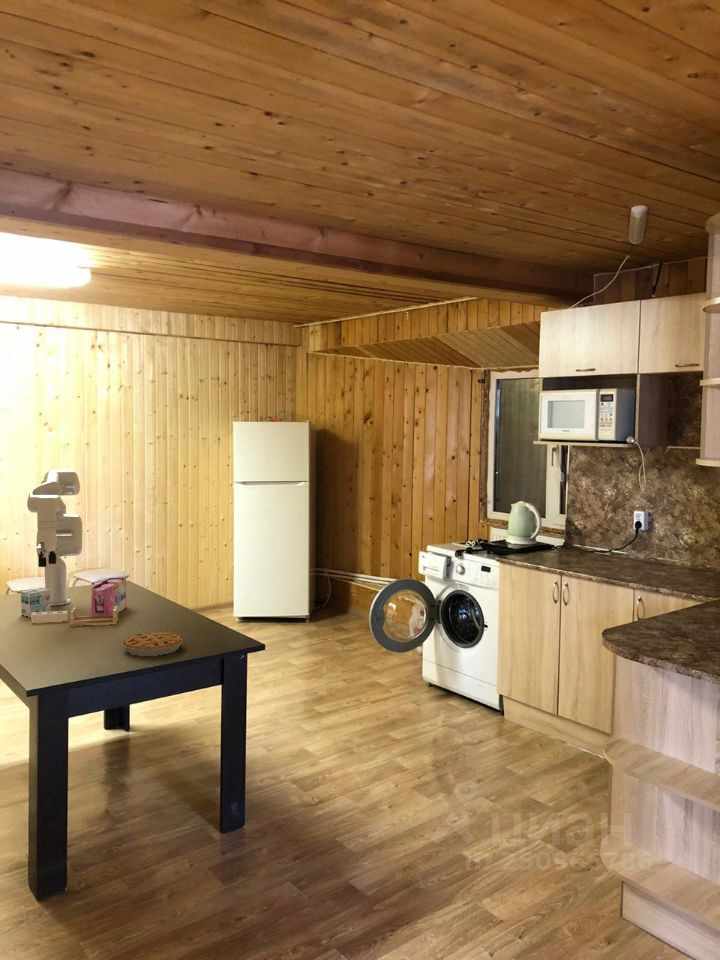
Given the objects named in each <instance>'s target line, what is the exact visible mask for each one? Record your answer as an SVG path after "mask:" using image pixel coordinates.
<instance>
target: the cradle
mask: <svg viewBox="0 0 720 960" xmlns="http://www.w3.org/2000/svg"><path fill="white" fill-rule="evenodd" d="M69 616H70V619H69V620H70V621H69V622H70V625H69V626H70V627H83V626H82V625H93V626H111V625H110V624H116V625H117V623H118V621H119V612H118V606H115V607H114V609H113V615H105V616H91V615H84V616H83V615H82V616H77V607H76V606H75V607H74V606H73V607H72V609H71V610H70V615H69ZM79 625H80V626H79Z"/></svg>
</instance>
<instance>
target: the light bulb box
mask: <svg viewBox="0 0 720 960" xmlns="http://www.w3.org/2000/svg"><path fill="white" fill-rule="evenodd" d="M20 607H21V608H20V609H21V610H20V611H21V612H20V613H21V616H22V615H24V616H23V617H26V616H28V617H27V618H31V615H32V613H35V612H52V611H51V606H50V590H49V589H45V587H40V588H33V589H29V590H27V589H26V590H23V591H20Z"/></svg>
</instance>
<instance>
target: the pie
mask: <svg viewBox="0 0 720 960" xmlns="http://www.w3.org/2000/svg"><path fill="white" fill-rule="evenodd" d="M182 643H183V638H182V636H181V635H178V634H177V632H174V633H170V632H168V631H164V632H161V631H154V632H143V633H135V634H134V635H129V636H127V638H123V640H122V644H121V645H122V646H123V647H124V650H125V651H126V652H127V653H128V652H129V653H130V654H129V653H128V654H129V655H132V654H134V655H133V656H135V655H138V656H137V657H142V656H151V657H159V656H158V655H160V656H164V655H163V654H166V655H169V654H171V653H175V652H176V650H177V651H178V650H179V648H180V646H181V644H182ZM168 653H169V654H168Z"/></svg>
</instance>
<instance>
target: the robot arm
mask: <svg viewBox="0 0 720 960" xmlns="http://www.w3.org/2000/svg"><path fill="white" fill-rule="evenodd" d="M80 490H81V484H80V480H79V476H78V474H77V473H76V471H75V470H73V469H52V470H49V471H46V473H45V475H44V477H43V480H41V482H40V484H39V485H37V486H36V487H34V488H32V489H31V490H30V491H29V493H28V497H27V499H26V500H27V501H26V505H27V509H28V511H29V512H30V513H34V514H35V513H36V517H37V518H36V519H37V520H36V523H37V532H36V542H35V543H36V547H35V548H36V554H37V559H38V560H37V561H38V562H37V563H38V564H37V566H38V567H39V568H44V588H45V589H49V590H50V607H56V606H57V605H58V606H64V604H65V605H68V604H70V603H71V599H70V598H68V588H67V587H68V586H67V582H68V581H67V577H68V576H67V565H66V562H65V560H63V559H62V558H61V557H76V556H79V555H80V554H82V551H83V521H82V517H81V516H80V515H77V514H67V506H66V504H65V502H64V501H63V499H62V497H61V496H76V495H78V494H79V493H80ZM58 606H57V607H58Z"/></svg>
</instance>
